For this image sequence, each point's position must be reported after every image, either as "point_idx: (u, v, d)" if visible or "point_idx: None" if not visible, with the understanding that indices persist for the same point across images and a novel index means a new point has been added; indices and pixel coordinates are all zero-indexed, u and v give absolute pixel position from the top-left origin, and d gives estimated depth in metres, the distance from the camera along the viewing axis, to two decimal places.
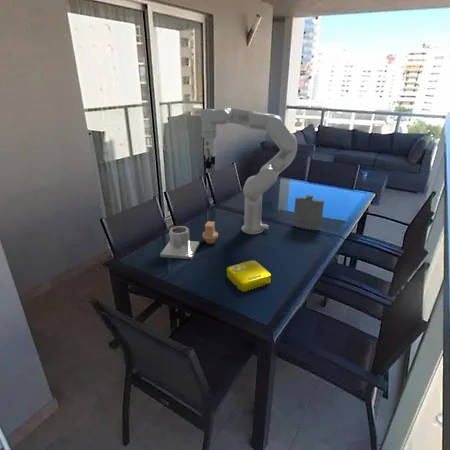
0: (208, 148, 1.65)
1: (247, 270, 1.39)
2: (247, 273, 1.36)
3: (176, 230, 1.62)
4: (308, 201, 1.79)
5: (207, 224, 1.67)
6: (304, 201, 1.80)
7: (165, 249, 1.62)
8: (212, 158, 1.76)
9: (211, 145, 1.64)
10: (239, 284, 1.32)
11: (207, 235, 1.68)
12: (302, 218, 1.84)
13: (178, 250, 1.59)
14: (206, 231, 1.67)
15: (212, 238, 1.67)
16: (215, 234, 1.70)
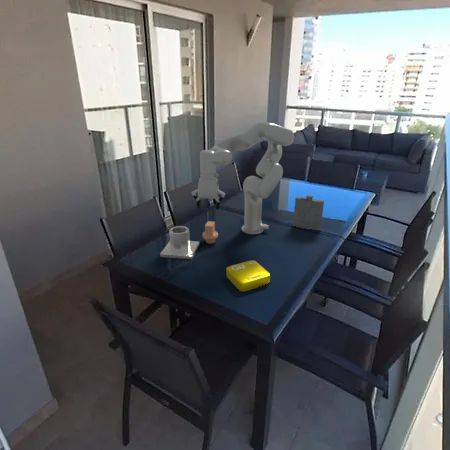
0: (218, 188, 1.60)
1: (246, 270, 1.39)
2: (246, 273, 1.36)
3: (176, 230, 1.62)
4: (308, 201, 1.79)
5: (207, 224, 1.67)
6: (304, 201, 1.80)
7: (165, 249, 1.62)
8: (200, 201, 1.64)
9: None
10: (238, 284, 1.32)
11: (207, 235, 1.68)
12: (302, 218, 1.84)
13: (178, 250, 1.59)
14: (206, 231, 1.67)
15: (212, 238, 1.67)
16: (215, 234, 1.70)
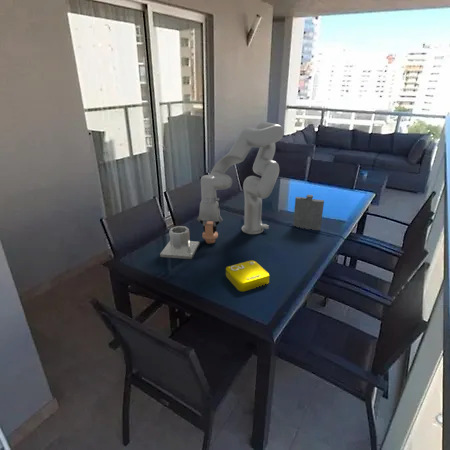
0: (219, 213, 1.65)
1: (245, 270, 1.39)
2: (246, 273, 1.36)
3: (176, 230, 1.62)
4: (308, 201, 1.79)
5: (207, 224, 1.67)
6: (304, 201, 1.80)
7: (165, 249, 1.62)
8: None
9: None
10: (237, 284, 1.32)
11: (207, 235, 1.68)
12: (302, 218, 1.84)
13: (178, 250, 1.59)
14: (206, 231, 1.67)
15: (212, 238, 1.67)
16: (215, 234, 1.70)
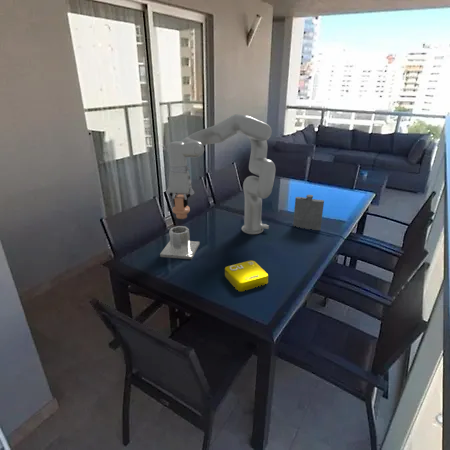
0: (190, 184, 1.50)
1: (244, 270, 1.39)
2: (244, 273, 1.36)
3: (176, 230, 1.62)
4: (308, 201, 1.79)
5: (177, 197, 1.52)
6: (304, 201, 1.80)
7: (165, 249, 1.62)
8: None
9: (190, 179, 1.51)
10: (236, 284, 1.32)
11: (177, 209, 1.53)
12: (302, 218, 1.84)
13: (178, 250, 1.59)
14: (176, 204, 1.52)
15: (183, 212, 1.52)
16: (186, 208, 1.55)
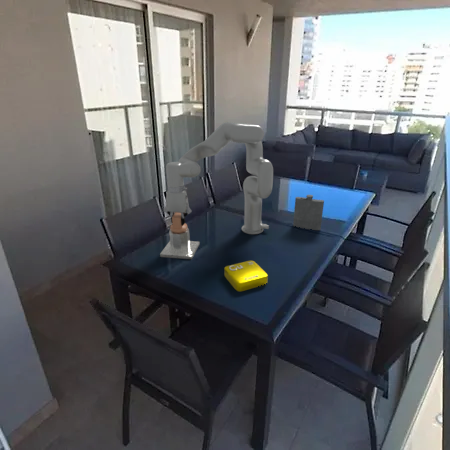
0: (187, 203, 1.53)
1: (244, 270, 1.39)
2: (244, 273, 1.36)
3: None
4: (308, 201, 1.79)
5: (175, 216, 1.55)
6: (304, 201, 1.80)
7: (165, 249, 1.62)
8: None
9: (187, 198, 1.53)
10: (235, 284, 1.32)
11: (175, 227, 1.56)
12: (302, 218, 1.84)
13: (178, 250, 1.59)
14: (173, 223, 1.55)
15: (180, 231, 1.55)
16: (184, 226, 1.58)
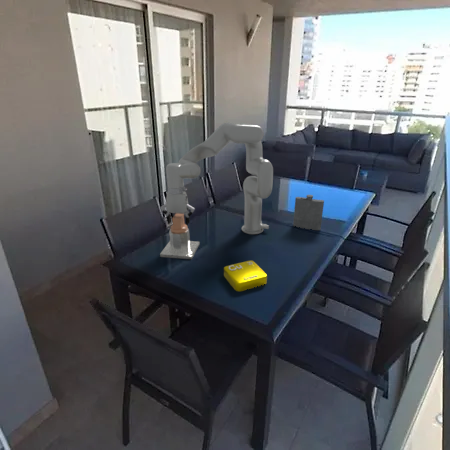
0: (187, 203, 1.53)
1: (243, 270, 1.39)
2: (243, 273, 1.36)
3: None
4: (308, 201, 1.79)
5: (175, 216, 1.55)
6: (304, 201, 1.80)
7: (165, 249, 1.62)
8: (170, 216, 1.57)
9: (187, 199, 1.54)
10: (234, 284, 1.32)
11: (175, 228, 1.56)
12: (302, 218, 1.84)
13: (178, 250, 1.59)
14: (174, 224, 1.55)
15: (180, 231, 1.55)
16: (184, 227, 1.58)
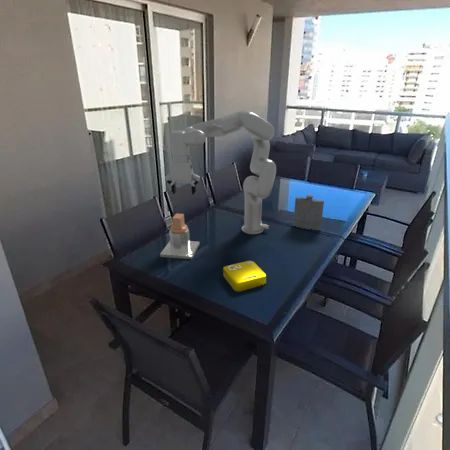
0: (192, 172, 1.50)
1: (242, 270, 1.39)
2: (242, 273, 1.36)
3: None
4: (308, 201, 1.79)
5: (175, 216, 1.55)
6: (304, 201, 1.80)
7: (165, 249, 1.62)
8: (174, 186, 1.55)
9: (192, 168, 1.51)
10: (233, 284, 1.32)
11: (175, 228, 1.56)
12: (302, 218, 1.84)
13: (178, 250, 1.59)
14: (174, 224, 1.55)
15: (180, 231, 1.55)
16: (184, 227, 1.58)
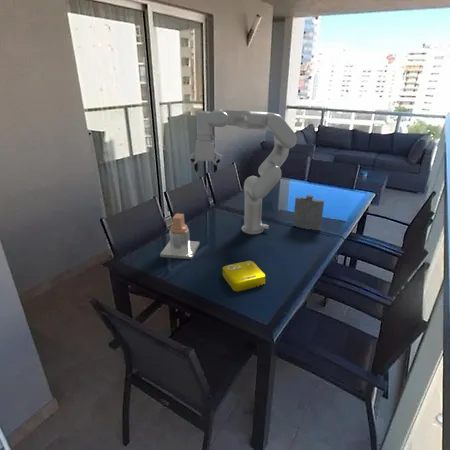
0: (215, 151, 1.60)
1: (242, 270, 1.39)
2: (242, 273, 1.36)
3: None
4: (308, 201, 1.79)
5: (175, 216, 1.55)
6: (304, 201, 1.80)
7: (165, 249, 1.62)
8: (197, 164, 1.65)
9: None
10: (232, 284, 1.32)
11: (175, 228, 1.56)
12: (302, 218, 1.84)
13: (178, 250, 1.59)
14: (174, 224, 1.55)
15: (180, 231, 1.55)
16: (184, 227, 1.58)
